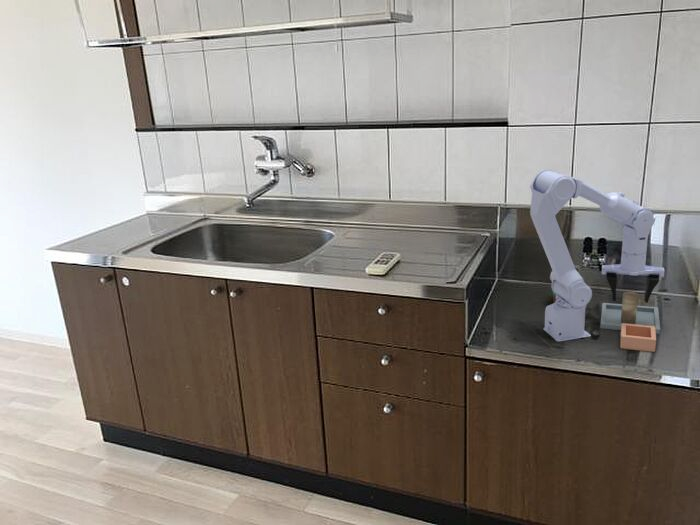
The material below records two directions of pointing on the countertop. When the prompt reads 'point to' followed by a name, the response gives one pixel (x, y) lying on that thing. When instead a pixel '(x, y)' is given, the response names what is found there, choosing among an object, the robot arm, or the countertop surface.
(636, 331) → the terracotta square open box
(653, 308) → the slate tray
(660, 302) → the countertop surface
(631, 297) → the beech dowel
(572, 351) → the countertop surface
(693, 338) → the countertop surface
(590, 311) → the countertop surface
